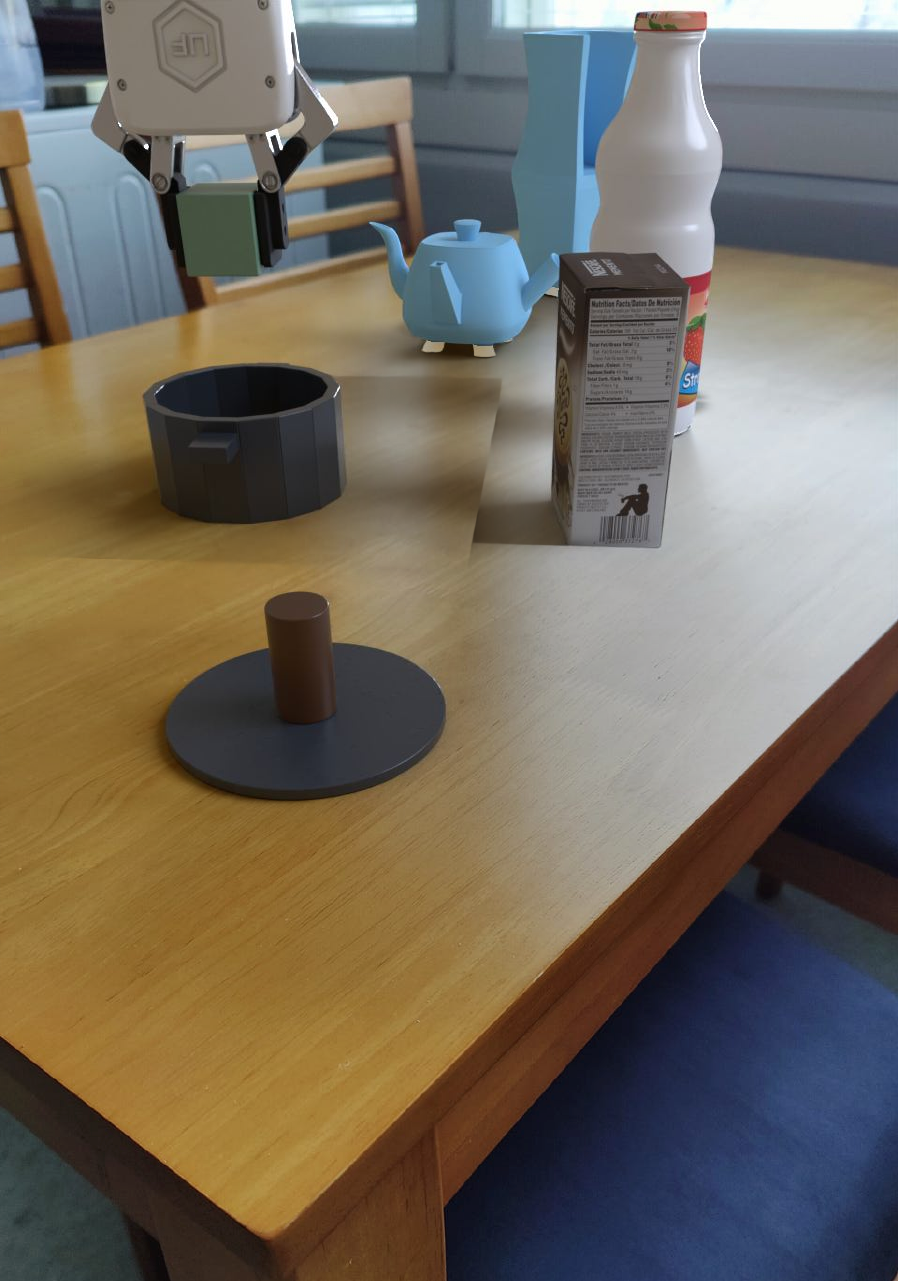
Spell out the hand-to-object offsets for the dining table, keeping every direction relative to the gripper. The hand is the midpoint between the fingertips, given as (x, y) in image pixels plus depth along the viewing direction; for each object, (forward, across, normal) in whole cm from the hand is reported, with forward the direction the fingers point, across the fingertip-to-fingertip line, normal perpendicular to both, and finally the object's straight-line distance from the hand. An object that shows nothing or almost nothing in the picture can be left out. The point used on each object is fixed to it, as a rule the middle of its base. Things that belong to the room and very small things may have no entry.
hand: (230, 259), depth 69 cm
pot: (+16, 0, 0) cm, 16 cm away
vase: (+17, +20, +71) cm, 76 cm away
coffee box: (+17, +24, 0) cm, 29 cm away
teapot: (+17, +10, +44) cm, 48 cm away
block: (+1, 0, 0) cm, 1 cm away
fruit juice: (+17, +26, +21) cm, 38 cm away
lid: (+16, +9, -27) cm, 32 cm away
